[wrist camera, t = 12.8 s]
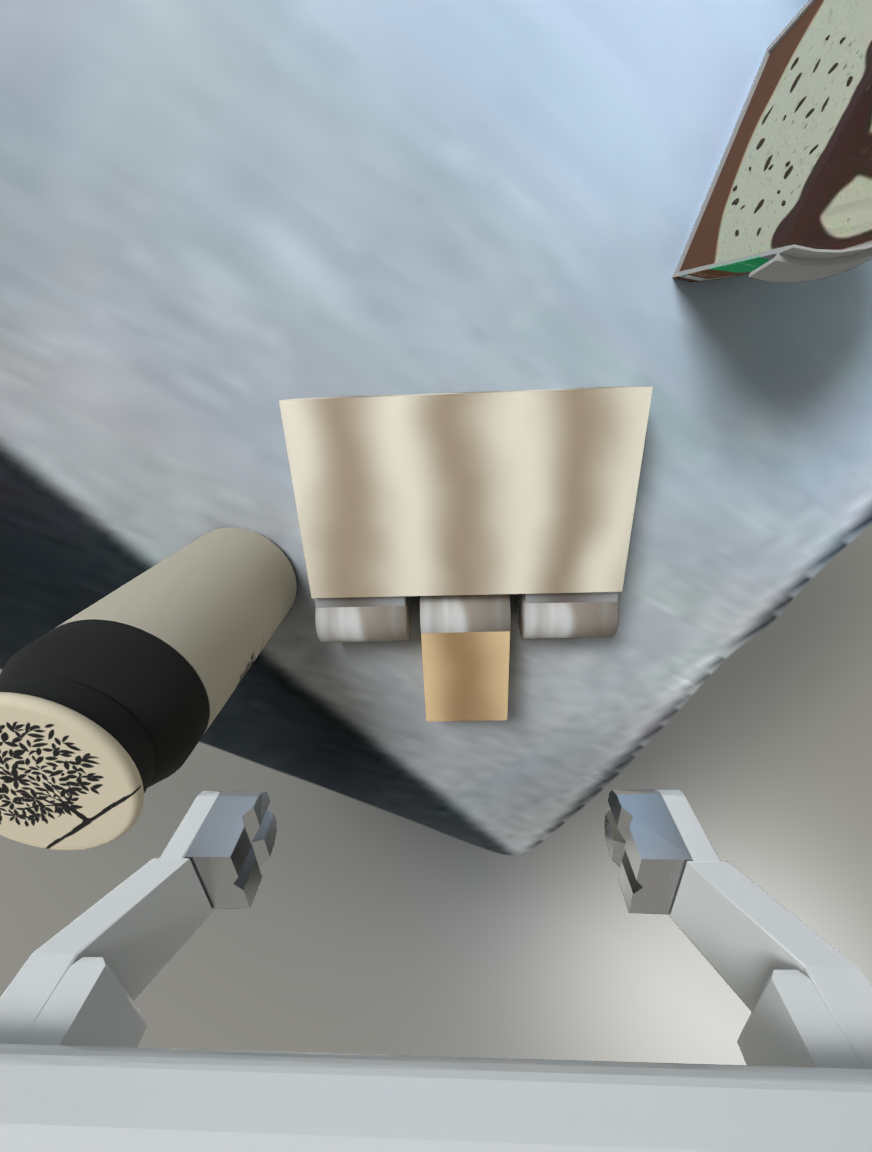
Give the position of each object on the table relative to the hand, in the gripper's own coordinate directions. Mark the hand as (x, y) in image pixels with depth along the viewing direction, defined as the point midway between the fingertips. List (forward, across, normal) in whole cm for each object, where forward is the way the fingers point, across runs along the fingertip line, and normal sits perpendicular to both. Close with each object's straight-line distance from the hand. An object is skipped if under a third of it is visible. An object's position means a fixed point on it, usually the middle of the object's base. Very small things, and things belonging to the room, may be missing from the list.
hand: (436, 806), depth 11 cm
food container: (+23, -17, -17) cm, 33 cm away
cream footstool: (+22, -1, 0) cm, 22 cm away
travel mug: (+22, +15, +4) cm, 26 cm away
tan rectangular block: (+22, -1, +9) cm, 23 cm away
